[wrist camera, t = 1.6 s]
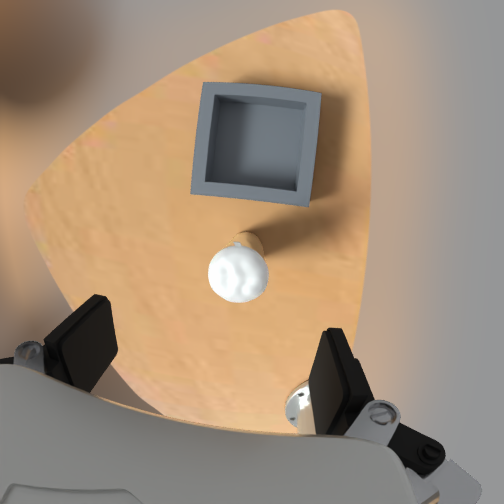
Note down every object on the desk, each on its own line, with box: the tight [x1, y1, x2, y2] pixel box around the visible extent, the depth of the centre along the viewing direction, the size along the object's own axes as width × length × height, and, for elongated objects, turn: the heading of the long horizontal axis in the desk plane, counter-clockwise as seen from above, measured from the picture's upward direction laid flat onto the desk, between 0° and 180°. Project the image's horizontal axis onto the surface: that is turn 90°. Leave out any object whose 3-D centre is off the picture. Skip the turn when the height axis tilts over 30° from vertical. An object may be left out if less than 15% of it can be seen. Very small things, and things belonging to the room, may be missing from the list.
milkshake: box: [208, 231, 269, 302], centre depth 23 cm, size 4×5×10 cm
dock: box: [190, 82, 321, 207], centre depth 24 cm, size 10×10×4 cm
